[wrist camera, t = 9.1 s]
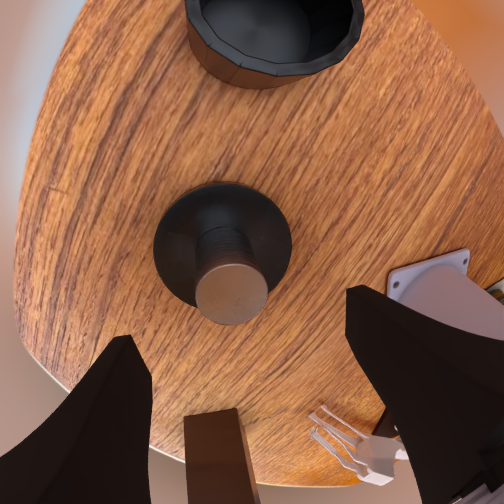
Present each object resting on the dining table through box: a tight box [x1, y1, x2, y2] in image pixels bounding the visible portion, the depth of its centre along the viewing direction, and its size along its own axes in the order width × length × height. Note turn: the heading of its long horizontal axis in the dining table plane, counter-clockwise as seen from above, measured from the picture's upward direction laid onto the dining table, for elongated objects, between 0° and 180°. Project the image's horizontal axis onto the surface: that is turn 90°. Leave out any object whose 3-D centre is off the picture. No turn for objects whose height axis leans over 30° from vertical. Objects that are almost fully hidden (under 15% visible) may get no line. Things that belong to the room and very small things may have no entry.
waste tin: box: [184, 0, 365, 89], centre depth 10 cm, size 6×6×5 cm
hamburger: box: [372, 408, 399, 438], centre depth 26 cm, size 12×12×6 cm
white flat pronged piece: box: [307, 404, 409, 486], centre depth 24 cm, size 2×11×18 cm
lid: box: [153, 182, 292, 325], centre depth 14 cm, size 7×7×5 cm
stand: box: [184, 408, 261, 504], centre depth 18 cm, size 4×4×10 cm
